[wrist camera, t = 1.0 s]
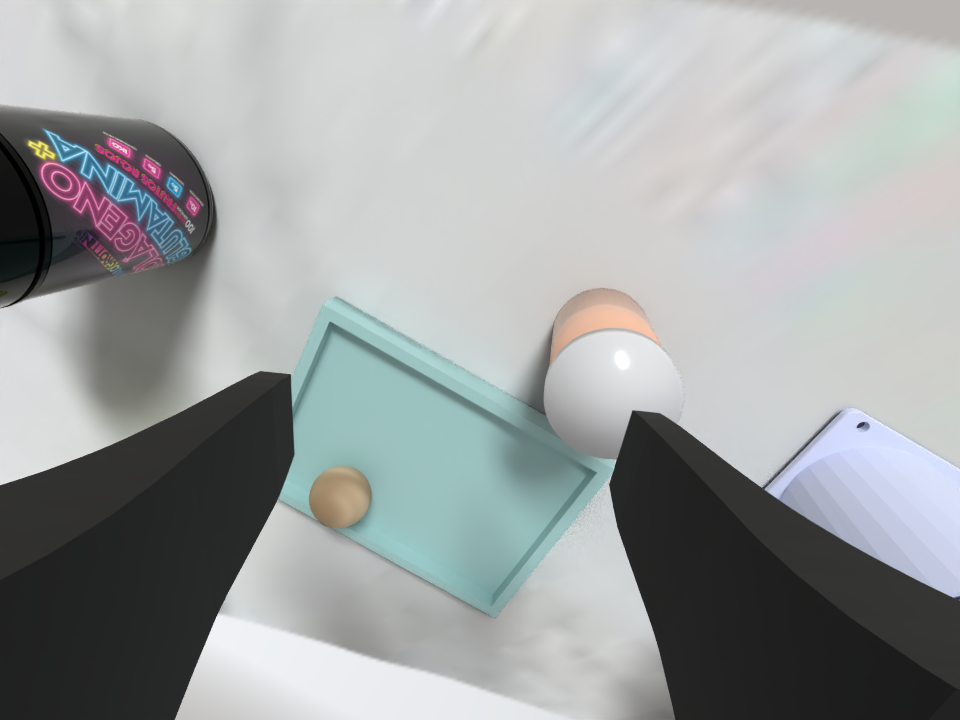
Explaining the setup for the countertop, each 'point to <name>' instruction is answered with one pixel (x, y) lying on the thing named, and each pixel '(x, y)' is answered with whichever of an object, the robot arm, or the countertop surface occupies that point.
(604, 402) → the shaker
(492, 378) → the countertop surface
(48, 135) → the supplement container
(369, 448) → the tray
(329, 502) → the ball
